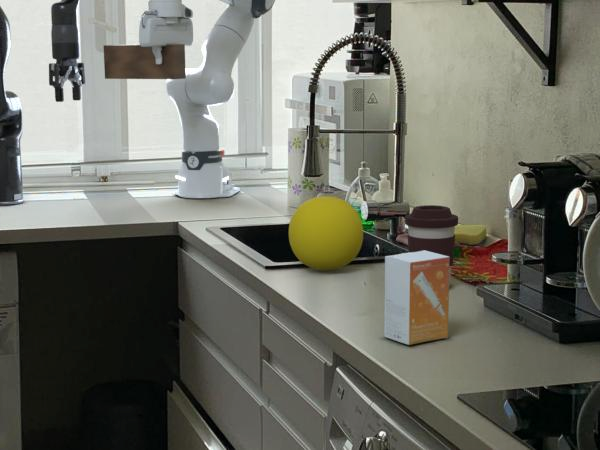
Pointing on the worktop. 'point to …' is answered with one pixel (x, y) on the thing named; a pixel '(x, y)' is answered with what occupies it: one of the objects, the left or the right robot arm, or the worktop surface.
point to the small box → (416, 297)
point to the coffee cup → (432, 230)
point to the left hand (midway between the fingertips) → (68, 101)
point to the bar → (144, 62)
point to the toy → (325, 233)
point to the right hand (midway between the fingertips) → (167, 63)
